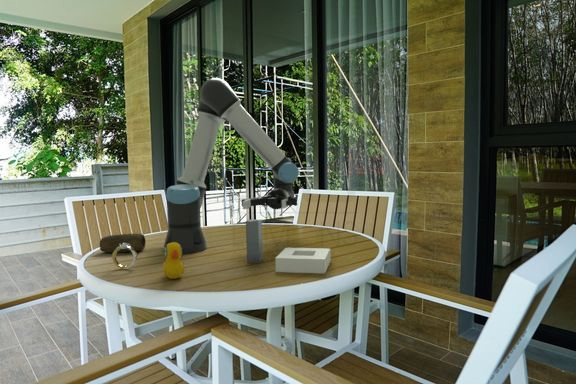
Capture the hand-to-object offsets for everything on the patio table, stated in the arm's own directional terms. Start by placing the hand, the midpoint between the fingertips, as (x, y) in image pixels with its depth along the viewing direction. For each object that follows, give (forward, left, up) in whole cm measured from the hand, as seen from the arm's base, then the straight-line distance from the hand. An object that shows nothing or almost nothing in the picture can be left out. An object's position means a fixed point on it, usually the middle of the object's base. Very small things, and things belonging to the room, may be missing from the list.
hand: (263, 204), depth 137 cm
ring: (-43, -10, -17) cm, 47 cm away
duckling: (-27, -23, -17) cm, 39 cm away
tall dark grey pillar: (-4, -9, -17) cm, 20 cm away
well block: (+10, -19, -17) cm, 27 cm away
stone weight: (-50, +17, -17) cm, 55 cm away
